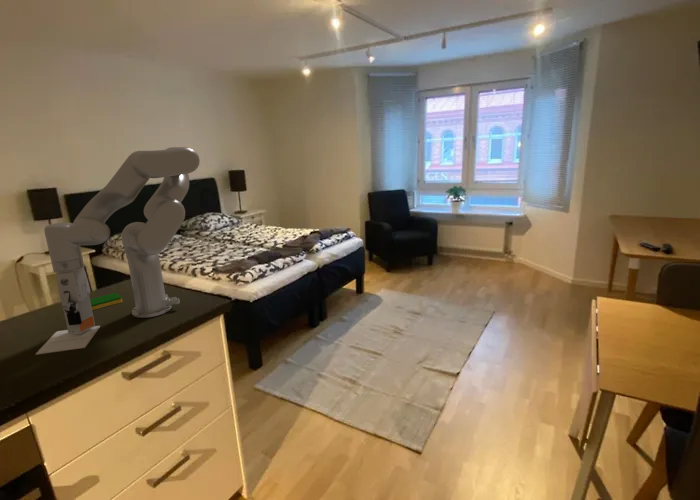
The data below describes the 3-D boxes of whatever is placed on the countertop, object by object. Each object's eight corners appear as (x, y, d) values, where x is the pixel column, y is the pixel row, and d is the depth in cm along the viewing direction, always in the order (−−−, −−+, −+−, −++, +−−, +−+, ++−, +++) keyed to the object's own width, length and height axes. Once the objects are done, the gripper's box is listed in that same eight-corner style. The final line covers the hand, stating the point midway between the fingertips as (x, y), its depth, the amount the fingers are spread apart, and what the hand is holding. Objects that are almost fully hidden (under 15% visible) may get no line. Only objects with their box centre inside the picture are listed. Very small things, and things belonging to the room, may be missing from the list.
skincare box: (79, 334, 115) (71, 298, 112) (68, 333, 116) (59, 297, 113) (96, 325, 121) (89, 290, 118) (85, 324, 121) (77, 290, 118)
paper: (100, 326, 122) (100, 325, 122) (85, 347, 109) (84, 346, 109) (56, 332, 119) (56, 331, 119) (35, 354, 106) (35, 353, 106)
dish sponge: (74, 309, 137) (72, 303, 136) (116, 298, 146) (115, 292, 146) (79, 315, 132) (77, 308, 131) (123, 302, 142) (121, 296, 141)
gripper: (71, 271, 106) (84, 329, 110) (92, 255, 122) (102, 306, 126) (40, 274, 103) (54, 333, 108) (65, 257, 119) (76, 309, 124)
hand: (80, 318), depth 117 cm, fingers closed on skincare box, 7 cm apart
